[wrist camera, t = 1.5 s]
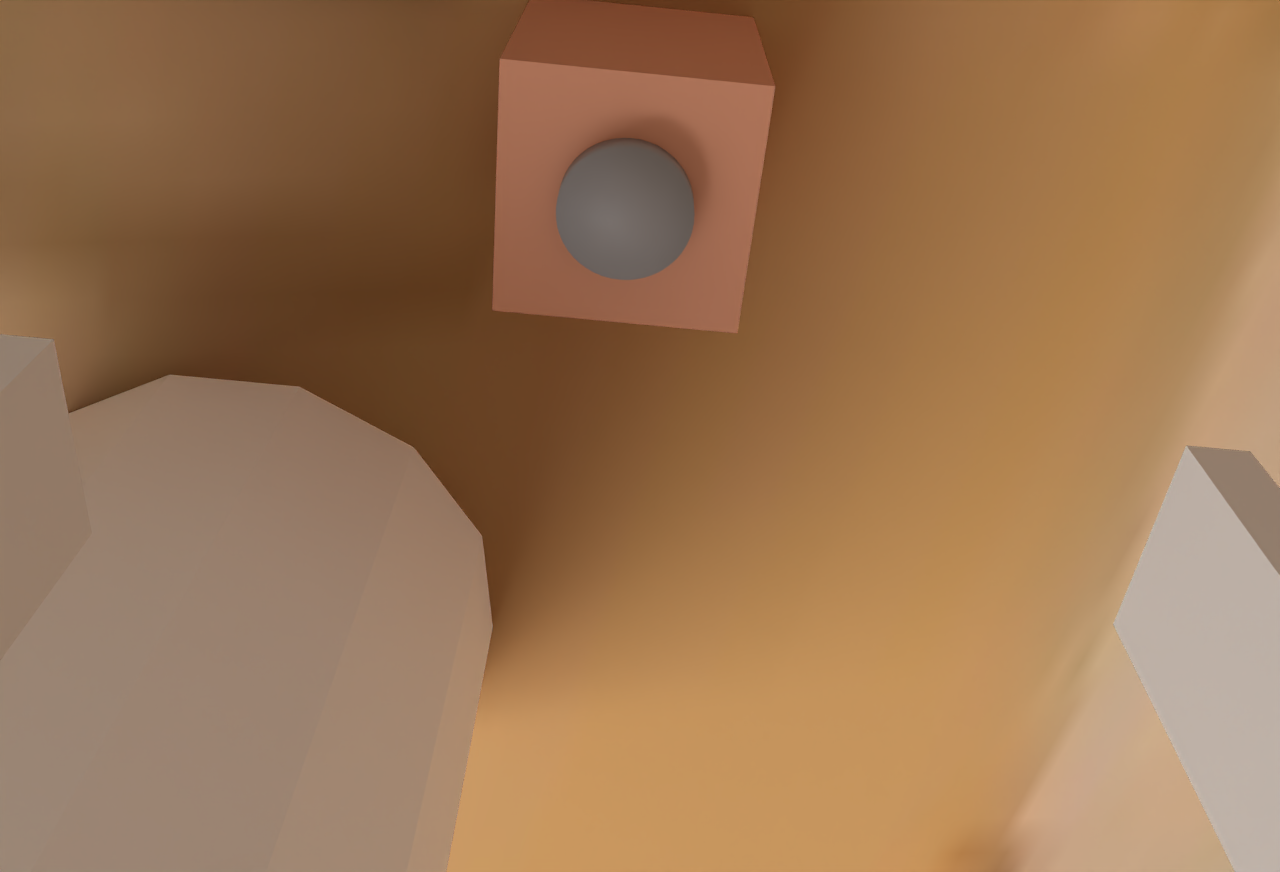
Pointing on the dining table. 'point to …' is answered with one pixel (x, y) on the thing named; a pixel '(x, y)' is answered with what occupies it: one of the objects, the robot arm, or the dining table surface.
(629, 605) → the dining table surface
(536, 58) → the joint block
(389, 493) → the container
